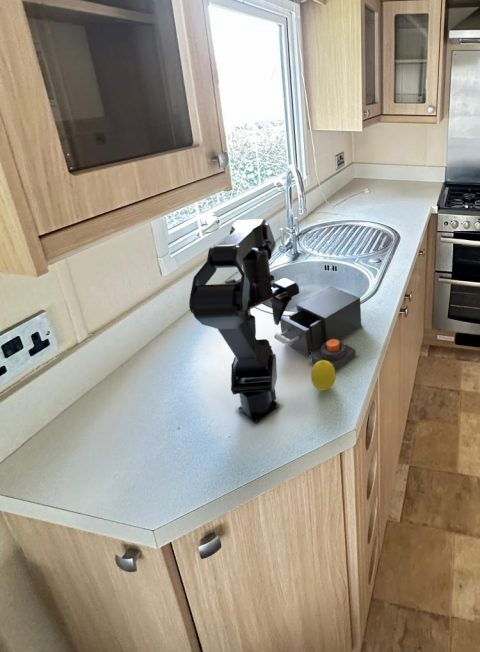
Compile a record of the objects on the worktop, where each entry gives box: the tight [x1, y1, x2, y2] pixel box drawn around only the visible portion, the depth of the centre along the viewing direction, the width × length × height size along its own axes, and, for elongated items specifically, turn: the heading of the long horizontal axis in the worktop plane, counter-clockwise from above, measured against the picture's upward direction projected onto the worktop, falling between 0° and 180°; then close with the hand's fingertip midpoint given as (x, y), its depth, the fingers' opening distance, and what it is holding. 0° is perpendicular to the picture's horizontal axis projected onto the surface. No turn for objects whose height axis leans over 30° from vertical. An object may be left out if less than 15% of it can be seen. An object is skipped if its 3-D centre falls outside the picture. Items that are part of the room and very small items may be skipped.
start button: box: [327, 339, 340, 352], centre depth 103 cm, size 3×3×2 cm
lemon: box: [310, 360, 337, 391], centre depth 93 cm, size 6×6×8 cm
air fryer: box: [295, 286, 362, 347], centre depth 116 cm, size 14×12×10 cm
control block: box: [310, 340, 357, 372], centre depth 104 cm, size 9×7×4 cm
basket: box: [273, 309, 325, 358], centre depth 109 cm, size 16×10×8 cm, turn 141°
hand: (265, 330), depth 98 cm, fingers open, 6 cm apart
